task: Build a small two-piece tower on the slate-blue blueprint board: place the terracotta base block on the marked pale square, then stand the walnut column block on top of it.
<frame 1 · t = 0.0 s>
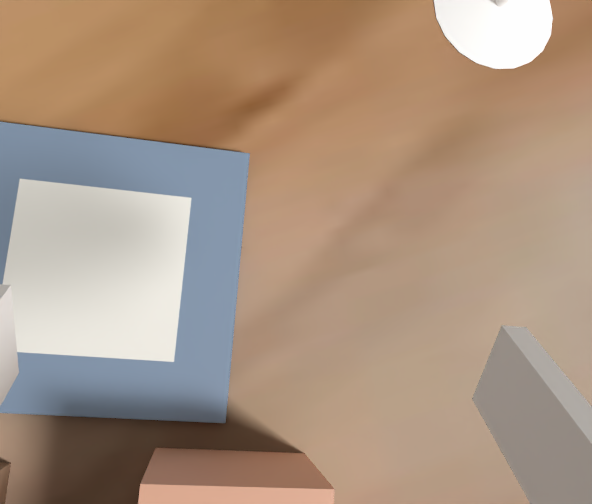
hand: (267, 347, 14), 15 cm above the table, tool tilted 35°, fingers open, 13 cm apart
wineglass: (492, 10, 36), on the table
blueprint board: (99, 271, 29), on the table
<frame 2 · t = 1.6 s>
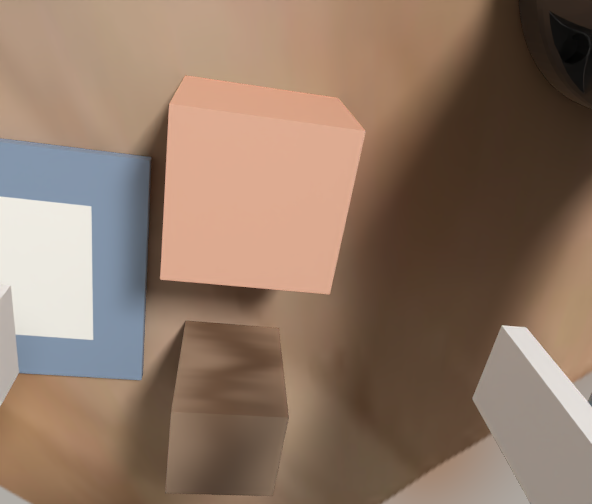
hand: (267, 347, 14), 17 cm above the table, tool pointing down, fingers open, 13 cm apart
walnut column: (228, 361, 35), on the table
blueprint board: (14, 265, 31), on the table
terracotta base: (253, 160, 29), on the table
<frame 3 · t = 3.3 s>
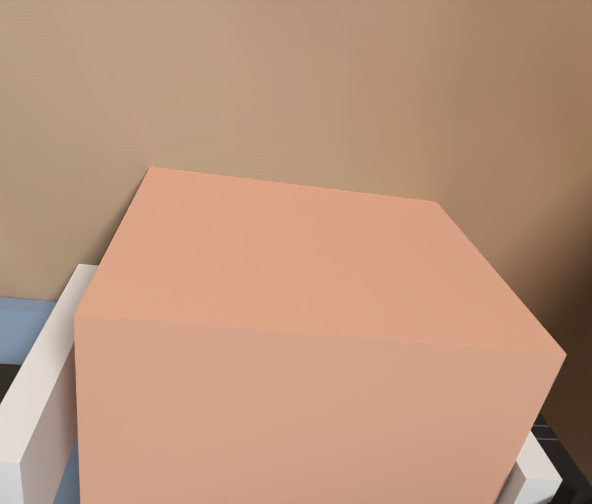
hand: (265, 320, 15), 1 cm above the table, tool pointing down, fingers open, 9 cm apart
terracotta base: (278, 305, 16), on the table
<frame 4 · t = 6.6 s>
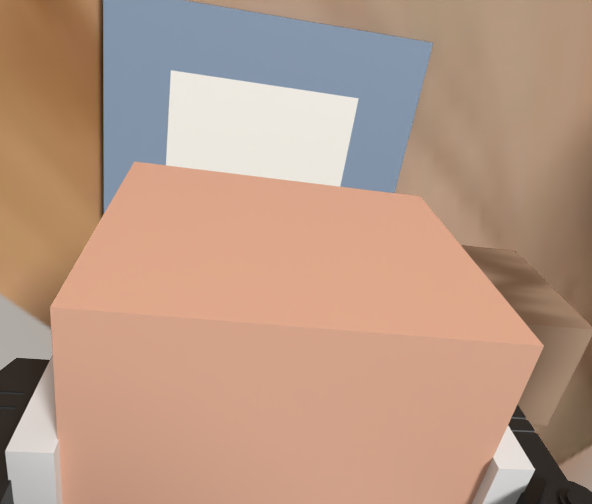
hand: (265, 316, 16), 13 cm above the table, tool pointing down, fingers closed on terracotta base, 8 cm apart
walnut column: (453, 289, 32), on the table
blueprint board: (255, 170, 28), on the table
terracotta base: (264, 301, 16), point 13 cm above the table, touching gripper
when the fingers open (2 cm above the table, at t = 8.9 s): terracotta base stays where it is, resting on blueprint board.
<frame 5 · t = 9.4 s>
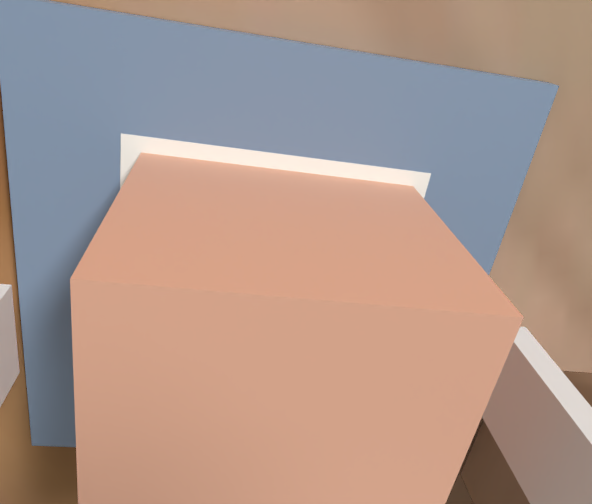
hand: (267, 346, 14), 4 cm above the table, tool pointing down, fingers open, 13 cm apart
walnut column: (546, 426, 22), on the table
blueprint board: (262, 278, 18), on the table
terracotta base: (264, 287, 17), point 1 cm above the table, touching blueprint board
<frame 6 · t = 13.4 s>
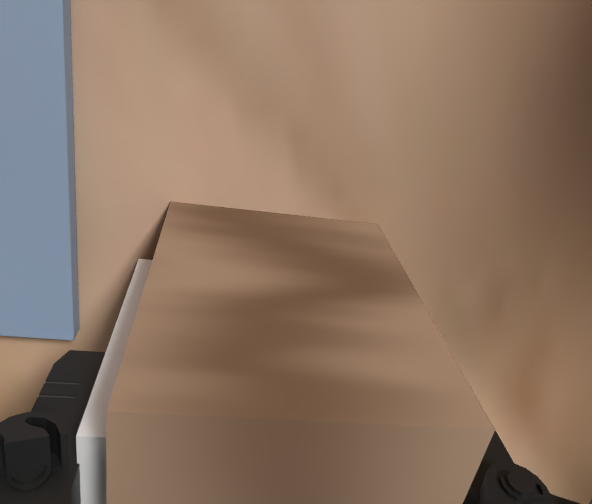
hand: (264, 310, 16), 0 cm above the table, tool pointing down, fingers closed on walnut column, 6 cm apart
walnut column: (263, 301, 16), on the table, touching gripper
when the fingers open (10 cm above the table, at t = 18.8 s): walnut column drops 2 cm, resting on terracotta base.
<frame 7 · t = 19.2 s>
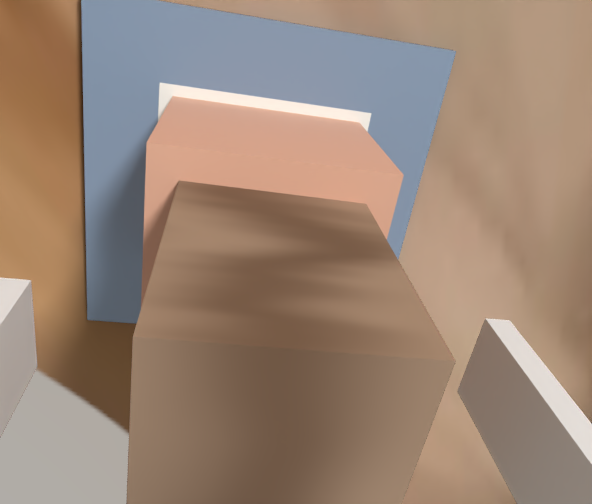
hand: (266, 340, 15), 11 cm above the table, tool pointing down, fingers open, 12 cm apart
walnut column: (262, 274, 18), point 8 cm above the table, touching terracotta base
blueprint board: (255, 192, 25), on the table
terracotta base: (256, 196, 24), point 1 cm above the table, touching blueprint board, walnut column
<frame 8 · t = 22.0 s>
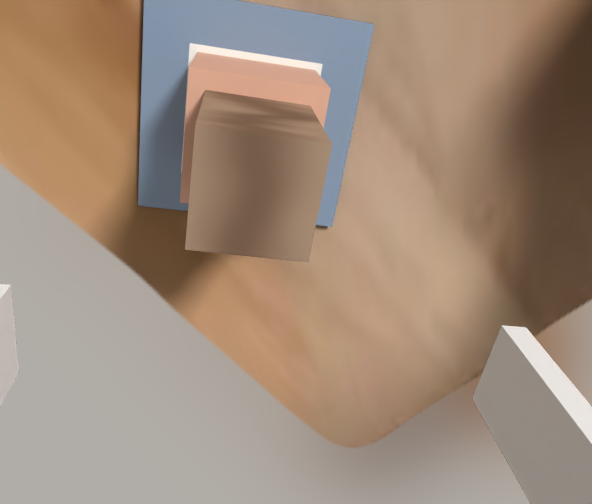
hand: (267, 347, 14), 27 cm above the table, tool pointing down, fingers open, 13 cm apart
walnut column: (252, 149, 31), point 8 cm above the table, touching terracotta base
blueprint board: (249, 118, 38), on the table
terracotta base: (250, 119, 37), point 1 cm above the table, touching blueprint board, walnut column
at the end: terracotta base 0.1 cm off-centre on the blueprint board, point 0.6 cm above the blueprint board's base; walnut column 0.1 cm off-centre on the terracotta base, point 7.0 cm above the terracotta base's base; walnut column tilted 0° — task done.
